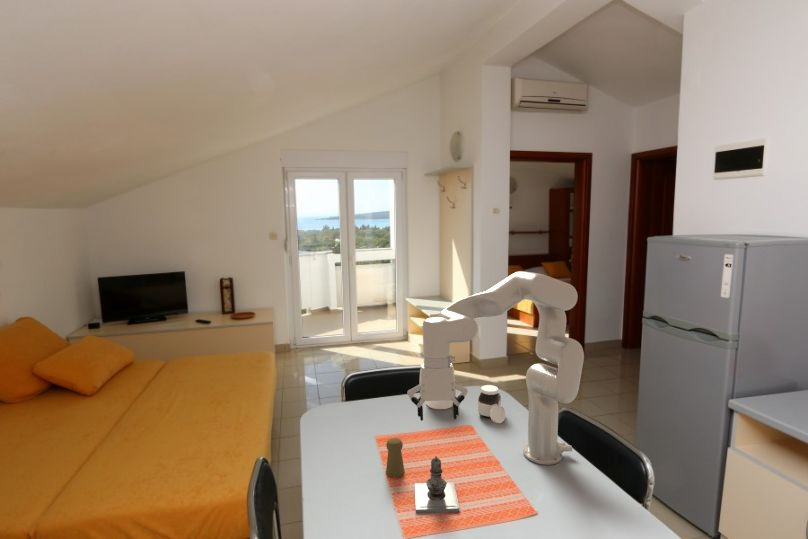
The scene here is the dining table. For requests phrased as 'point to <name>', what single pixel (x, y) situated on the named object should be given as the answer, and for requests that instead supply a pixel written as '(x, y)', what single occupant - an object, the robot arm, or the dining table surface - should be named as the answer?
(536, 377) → the robot arm
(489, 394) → the spread jar
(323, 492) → the dining table surface
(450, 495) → the coaster
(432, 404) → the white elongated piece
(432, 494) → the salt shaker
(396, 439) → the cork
